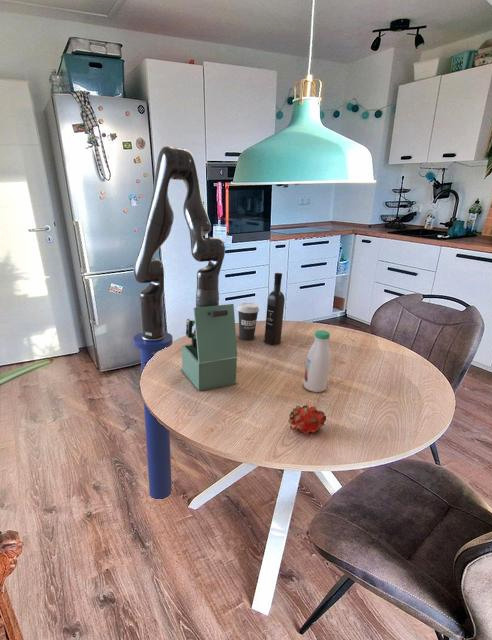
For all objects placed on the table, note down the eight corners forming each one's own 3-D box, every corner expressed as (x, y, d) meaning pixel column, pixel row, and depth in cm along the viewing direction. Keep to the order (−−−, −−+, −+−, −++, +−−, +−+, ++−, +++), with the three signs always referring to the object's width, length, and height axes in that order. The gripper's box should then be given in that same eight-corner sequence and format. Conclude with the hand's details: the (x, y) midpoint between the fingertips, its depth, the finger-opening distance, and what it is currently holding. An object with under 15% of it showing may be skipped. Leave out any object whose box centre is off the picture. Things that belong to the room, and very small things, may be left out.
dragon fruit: (282, 436, 108) (319, 435, 112) (298, 435, 100) (336, 434, 104) (280, 406, 110) (316, 406, 114) (295, 403, 102) (333, 403, 106)
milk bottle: (330, 387, 133) (339, 332, 124) (319, 395, 127) (327, 338, 119) (310, 379, 137) (317, 326, 129) (299, 387, 132) (305, 332, 124)
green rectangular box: (182, 370, 141) (181, 345, 137) (216, 364, 146) (216, 340, 142) (198, 390, 127) (198, 363, 123) (235, 383, 133) (236, 357, 129)
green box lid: (193, 307, 120) (199, 308, 116) (232, 303, 126) (239, 304, 121) (198, 362, 124) (204, 364, 119) (236, 356, 129) (243, 358, 124)
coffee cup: (233, 339, 170) (234, 306, 164) (239, 332, 179) (240, 301, 173) (254, 342, 168) (256, 309, 162) (259, 335, 176) (261, 303, 170)
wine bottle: (272, 345, 165) (279, 275, 153) (263, 341, 169) (268, 273, 157) (281, 342, 169) (288, 273, 157) (271, 338, 173) (277, 271, 160)
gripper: (222, 296, 133) (220, 340, 139) (183, 299, 127) (183, 345, 134) (231, 302, 127) (229, 347, 133) (190, 306, 121) (191, 353, 128)
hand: (206, 346), depth 134 cm, fingers open, 8 cm apart
